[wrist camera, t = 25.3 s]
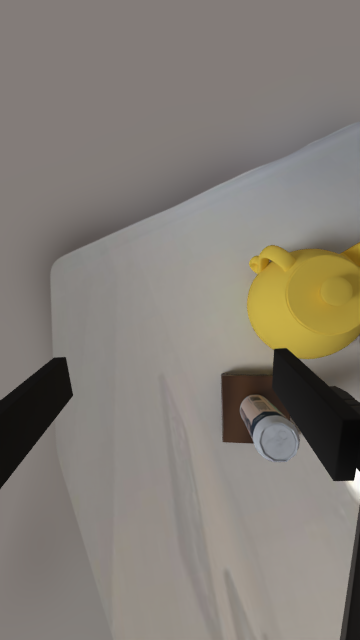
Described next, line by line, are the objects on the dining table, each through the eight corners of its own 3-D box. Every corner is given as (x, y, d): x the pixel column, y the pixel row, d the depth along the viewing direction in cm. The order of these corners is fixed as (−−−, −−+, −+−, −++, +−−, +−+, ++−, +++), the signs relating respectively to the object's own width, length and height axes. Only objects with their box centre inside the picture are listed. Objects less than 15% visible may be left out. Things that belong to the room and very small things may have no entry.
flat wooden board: (221, 435, 39) (222, 442, 37) (220, 373, 40) (221, 375, 38) (285, 438, 38) (291, 445, 35) (283, 374, 39) (288, 376, 36)
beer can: (233, 413, 37) (245, 447, 25) (250, 387, 37) (270, 409, 25) (260, 432, 36) (286, 477, 24) (278, 406, 36) (312, 437, 24)
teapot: (299, 379, 39) (343, 396, 26) (214, 298, 41) (217, 278, 29) (388, 290, 38) (478, 265, 26) (297, 215, 41) (337, 159, 28)
